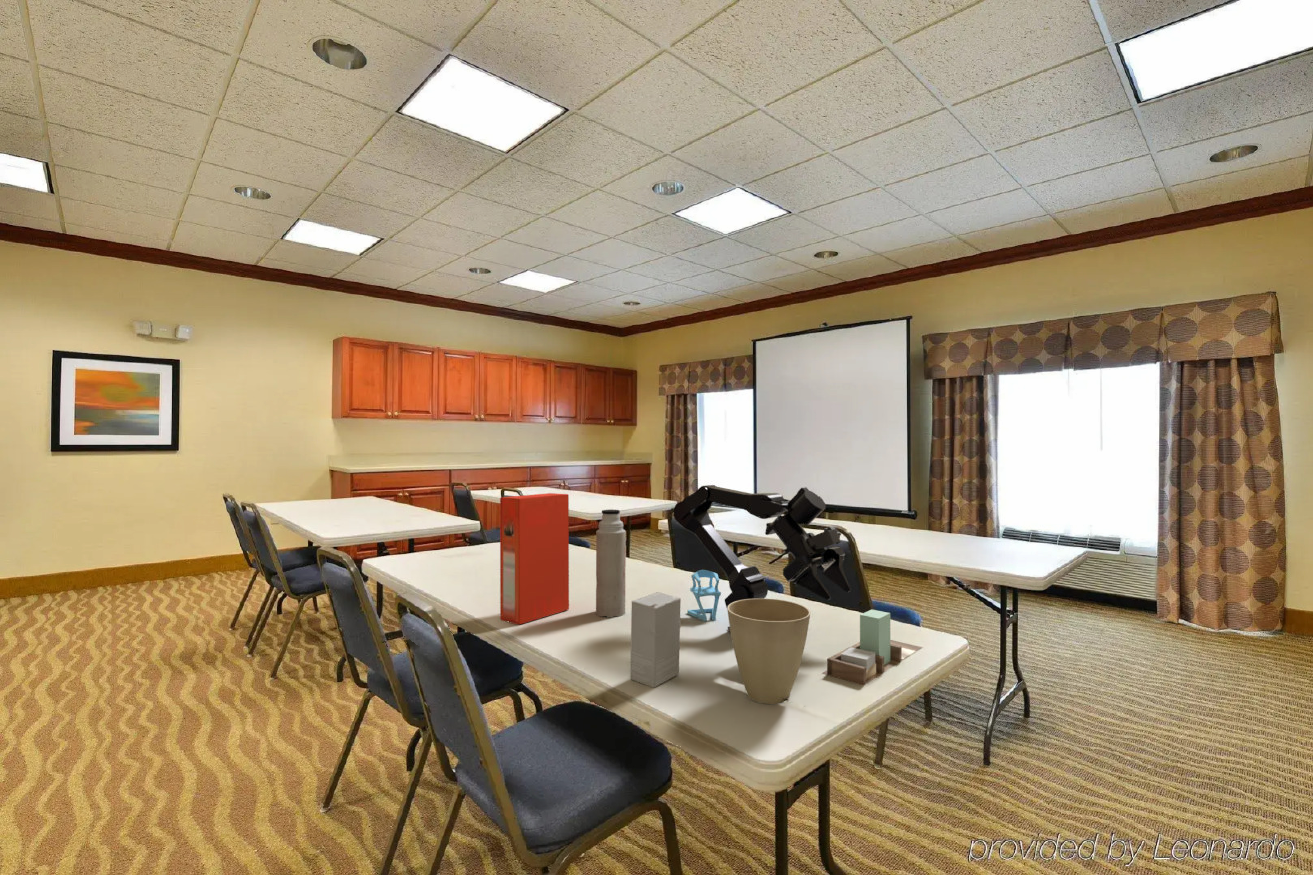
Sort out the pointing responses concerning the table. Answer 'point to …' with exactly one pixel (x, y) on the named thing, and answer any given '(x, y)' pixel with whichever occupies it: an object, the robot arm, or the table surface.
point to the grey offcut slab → (858, 657)
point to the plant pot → (768, 645)
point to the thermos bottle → (610, 565)
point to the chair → (704, 594)
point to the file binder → (534, 556)
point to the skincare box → (655, 638)
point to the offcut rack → (858, 673)
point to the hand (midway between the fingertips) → (839, 594)
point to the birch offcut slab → (871, 671)
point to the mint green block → (875, 633)
